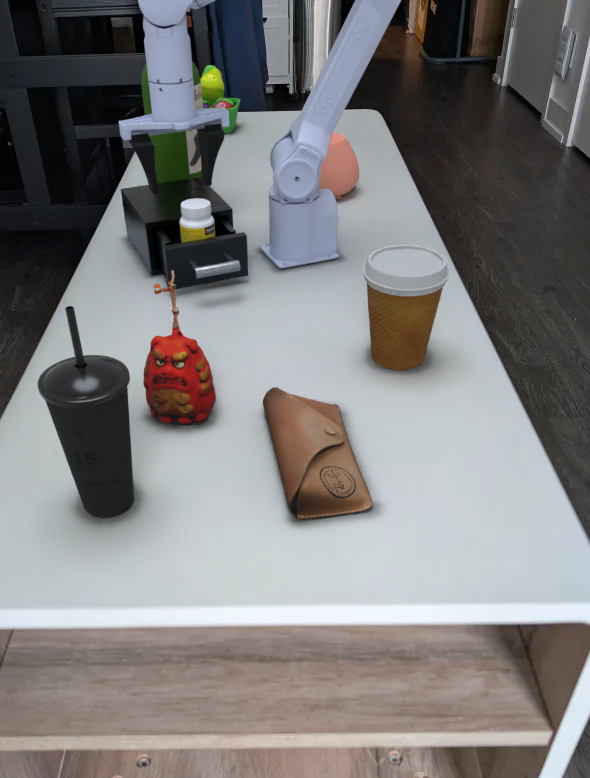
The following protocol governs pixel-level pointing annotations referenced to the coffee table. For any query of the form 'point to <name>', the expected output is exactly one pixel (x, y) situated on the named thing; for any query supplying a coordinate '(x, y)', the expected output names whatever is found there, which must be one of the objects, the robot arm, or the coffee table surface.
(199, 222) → the supplement bottle
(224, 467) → the coffee table surface
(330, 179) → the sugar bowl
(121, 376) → the drinking cup
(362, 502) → the sunglasses case
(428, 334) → the disposable coffee cup
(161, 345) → the red clay folk toy
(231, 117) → the fruit basket
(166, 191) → the black drawer box
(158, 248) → the drawer
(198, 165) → the wine bottle
